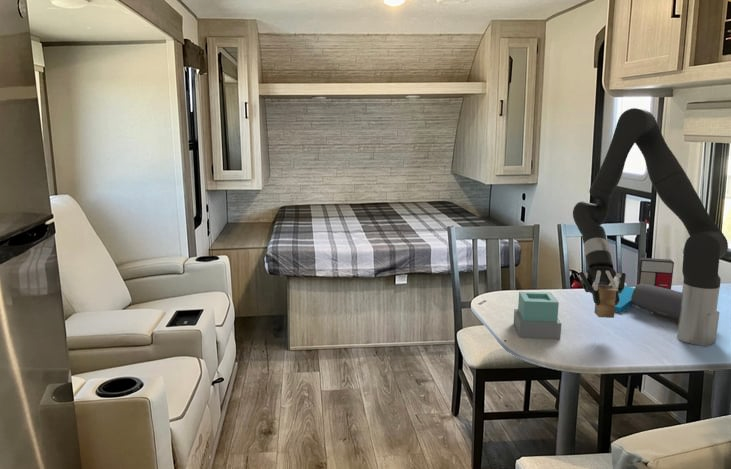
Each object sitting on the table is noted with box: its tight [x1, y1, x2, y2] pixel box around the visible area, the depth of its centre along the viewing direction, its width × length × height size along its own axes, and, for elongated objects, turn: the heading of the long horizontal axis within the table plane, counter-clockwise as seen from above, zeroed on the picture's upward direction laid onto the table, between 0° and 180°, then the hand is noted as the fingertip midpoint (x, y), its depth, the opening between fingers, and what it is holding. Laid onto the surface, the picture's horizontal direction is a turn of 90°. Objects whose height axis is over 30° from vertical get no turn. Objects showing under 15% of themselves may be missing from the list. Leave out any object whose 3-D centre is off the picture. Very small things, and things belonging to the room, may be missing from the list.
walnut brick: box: [594, 285, 616, 318], centre depth 164 cm, size 4×4×8 cm
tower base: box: [513, 291, 562, 340], centre depth 170 cm, size 12×12×11 cm
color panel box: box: [636, 257, 675, 290], centre depth 202 cm, size 11×4×15 cm, turn 73°
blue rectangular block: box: [615, 285, 635, 314], centre depth 195 cm, size 7×7×18 cm
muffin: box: [614, 277, 628, 288], centre depth 209 cm, size 6×6×7 cm
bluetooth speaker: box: [631, 284, 682, 324], centre depth 181 cm, size 23×9×10 cm, turn 30°
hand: (607, 303), depth 162 cm, fingers closed on walnut brick, 4 cm apart
